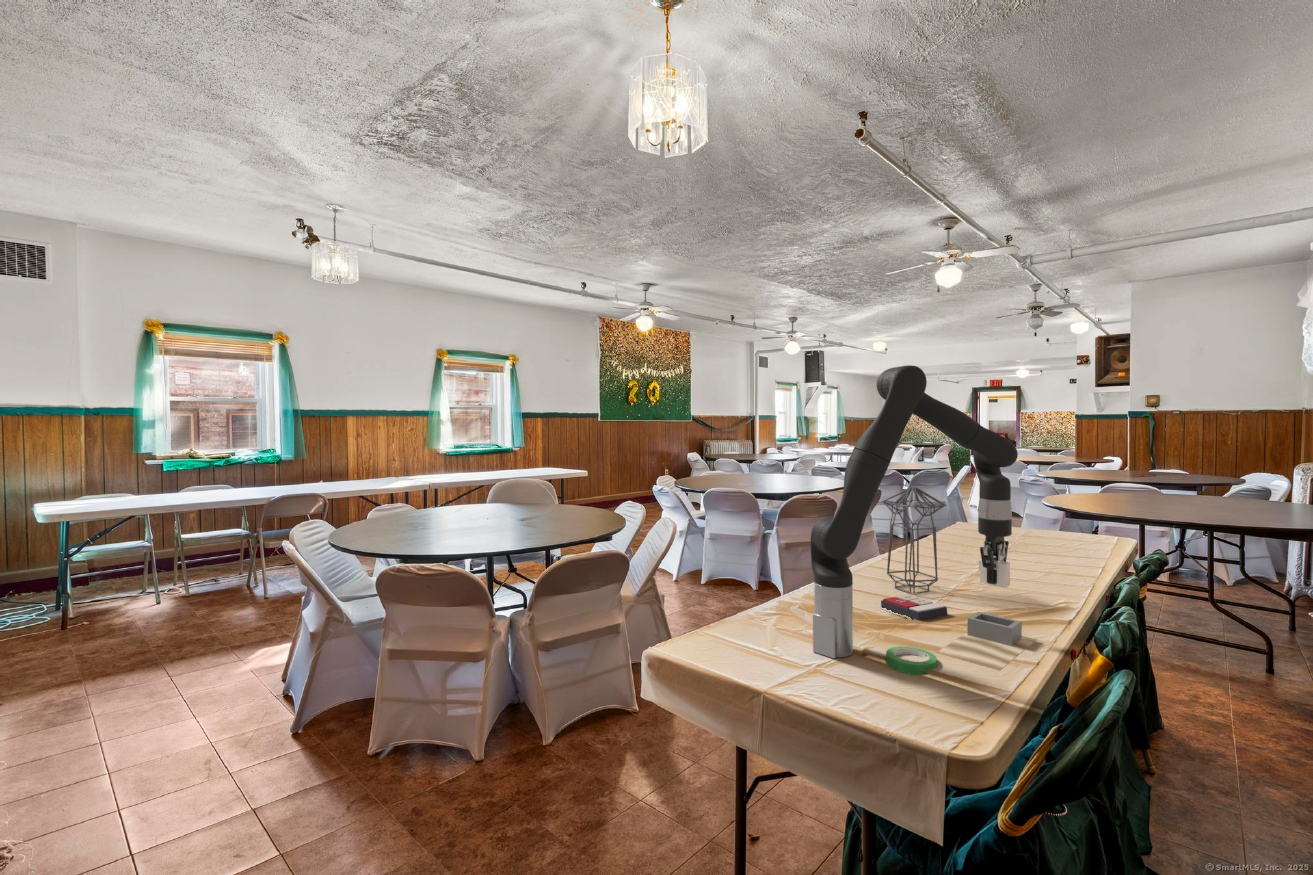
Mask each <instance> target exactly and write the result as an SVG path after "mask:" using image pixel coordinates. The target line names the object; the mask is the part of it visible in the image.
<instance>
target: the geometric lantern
mask: <svg viewBox="0 0 1313 875" xmlns="http://www.w3.org/2000/svg"><path fill="white" fill-rule="evenodd" d="M897 496H900V497H898V498H896V497H897ZM913 496H914V498H913ZM893 498H896V500H895V501H893V500H892V501H890V500H891V499H893ZM929 498H930V499H931V500H933V501H934V502H937V503H933V502H932V501H931V500H930V499H929ZM908 499H909V500H908ZM920 499H921V500H922V501H921V500H920ZM913 502H914V505H913V506H912V505H911V504H912V503H913ZM916 502H917V503H918V504H917V505H916ZM881 503H883V504H884V505H885V506H886V507H887V509H888V510H890V512H891V518H890V522H889V536H888V537H889V538H888V551H887V552H888V554H887V568H886V570H887V571H886V575H887V576H889V578H891V580H892V581H893V582H894V589H895V590H898V589H900V590H899V591H901V590H902V591H901V592H904V591H905V592H904V593H906V594H909V593H917V594H922V593H928V592H930V586H932V585H933V584H935V583H937V582H938V581H939V579H938V557H937V555H938V552H937V526H935V524H934V519H933V515H934V514H935V513H936V512H938V511H939V510H941V509H943V508H944V507H947V504H946V503H944V502H942V501H940V500H939V499H937V498H935V497H934V496H932V495H930V494H929V493H927V492H925V491H924V490H922V489H920V488H919V487H916V486H915V487H914V486H910V487H909V488H907V489H905V490H903V491H900V492H898V493H897V494H894V495H892V496H890V497H888V498H885V499H883V500H882V501H881ZM906 503H907V504H906ZM924 505H926V506H924ZM899 508H901V509H899ZM908 508H914V509H915V510H916V511H917V512H918V513H919V514H920V515H919V517H918V518H917V519H916V520H915V522H913V521H912V520H911V519H910V517H909V516H908V514H907V513H906V512H905V510H907V509H908ZM919 508H920V509H922V512H921V511H920V510H919ZM932 509H933V511H932ZM894 510H895V511H894ZM901 513H904V514H905V516H906V517H907V518H908V520H909V521H910V522H906V521H905V519H904V518H903V516H902V514H901ZM927 513H928V514H927ZM896 515H899V517H900V519H901V521H902V522H897V523H895V520H896ZM928 516H929V517H930V520H931V525H928V524H923V523H921V522H922V520H924V518H925V517H928ZM910 524H911V527H909V526H908V525H910ZM900 525H904V526H900ZM915 525H916V528H914V526H915ZM920 526H923V528H919V527H920ZM894 527H897V528H901V529H905V530H906V533H905V553H904V554H905V556H904V557H905V558H904V570H896V571H895V570H894V571H890V567H891V566H890V565H891V556H892V555H891V554H892V545H893V537H894V536H893V534H894ZM926 527H927V528H926ZM909 530H911V531H910V532H911V534H910V547H909V549H910V550H909V561H908V544H909V543H908V541H909ZM919 530H932V540H933V541H932V542H933V556H934V558H933V559H934V572H935V575H931V574H928V573H925V572H921V571H920V568H919V567H920V559H919V558H920V556H919V555H920V554H919V553H920V552H919V551H920V542H919V541H920V536H919V534H920V531H919ZM914 531H916V560H915V532H914ZM915 561H916V563H915ZM908 562H909V563H908ZM915 564H916V565H915ZM908 565H909V566H908ZM911 566H912V569H911ZM915 568H916V569H915ZM896 573H897V574H899V573H904V578H901V577H899V576H897V575H894V574H896ZM911 573H912V576H913V577H911ZM907 574H909V578H907ZM918 574H920V575H923V576H927V577H929V578H931V579H916V578H917V577H918V576H917V575H918ZM912 578H913V579H912ZM932 578H933V579H932ZM896 579H898V580H896ZM902 582H906V584H905V583H902ZM927 582H929V583H927ZM916 583H919V584H923V585H916ZM897 584H899V585H897ZM902 587H908V588H909V591H907V590H904V589H901V588H902ZM924 587H927V588H924ZM915 588H919V589H923V591H916V590H915ZM912 589H913V591H912ZM915 591H916V592H915Z"/></svg>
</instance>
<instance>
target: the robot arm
mask: <svg viewBox="0 0 1313 875" xmlns="http://www.w3.org/2000/svg"><path fill="white" fill-rule="evenodd" d="M927 382H928V381H927V376H926V374H925V372H924V371H923V369H922V368H920V367H919V366H916V365H913V364H912V365H909V364H908V365H902V366H895V367H891V368H888V369H886V370H884V371H883V372H881V373H880V374H879V375H878V377H877V380H876V390H877V392H878V393H877V394H879V395H880V397H881V398H882V399H883V400H884V403H883V406H882V408H881V411H880V412H879V414H878V415H877V417H875V419H874V420H873V422H872V423H871V424H870V425H869V426H868V427H867V428H866V430H865V431H864V432H863V433H862V435H861V436H860V437H859V438H858V440H857V441H856V443H855V445H854V447H853V449H852V451H851V454H850V456H849V458H848V460H847V463H846V466H845V471H844V478H843V489H842V497H841V500H840V503H839V506H838V508H837V510H836V512H835V514H834V516H833V517H823V518H821V519H819V520H817V521H816V522H815V523H814V525H813V526H812V529H811V532H810V563H811V570H812V573H813V577H814V578H813V579H814V580H813V581H814V582H813V584H814V595H813V597H814V598H813V600H814V601H813V602H814V603H813V605H814V607H813V609H814V613H813V614H812V652H813V653H817V654H820V655H823V656H826V657H829V658H831V659H837V658H846V657H849V656H851V655H853V653H854V652H853V651H854V650H853V647H854V646H853V644H854V640H853V639H854V637H853V635H854V634H853V633H854V632H853V630H854V628H853V627H854V624H853V622H854V621H853V617H854V616H853V615H854V614H853V605H854V604H853V602H854V600H853V588H854V587H853V584H854V582H853V578H854V577H853V573H852V571H851V570H850V567H849V565H848V561H847V558H849V557H850V556H851V555H852V554H853V553H854V552H855V551H856V548H857V546H858V544H859V542H860V540H861V539H860V538H861V535H862V532H863V529H864V526H865V523H866V519H867V516H868V513H869V512H870V511H869V510H870V508H871V506H872V505H873V502H874V500H875V497H876V495H877V492H878V490H879V488H880V485H881V483H882V481H883V480H884V477H885V475H886V474H887V470H888V468H889V466H890V465H891V464H890V463H891V460H892V459H893V456H894V454H895V451H896V449H897V447H898V445H899V443H900V441H901V438H902V436H903V433H904V431H905V428H906V427H907V424H908V423H909V421H910V419H911V418H912V415H914V416H916V417H918V418H920V419H921V420H923V421H925V422H926V423H927V424H929V425H931V427H934V428H935V429H936V430H938V431H940V432H941V433H943V435H945V436H946V437H948V438H949V439H950V440H952V441H953V442H955V444H958V445H959V446H960V447H962V448H964V449H967V450H971V451H973V454H972V455H973V464H974V469H975V472H976V475H977V478H978V482H979V487H978V488H979V493H978V496H979V499H978V506H977V508H978V509H977V514H978V515H977V518H978V519H977V524H978V526H977V532H978V533H979V534H980V535H983V536H985V538H984V539H985V540H984V541H983V546H980V548H979V552H980V558H981V560H982V564H983V567H985V568H986V569H987V583H989V584H996V583H997V563H998V561H1004V562H1007V558H1008V550H1009V544H1010V543H1009V541H1008V540H1005V537H1010V536H1012V534H1013V533H1012V531H1013V530H1012V528H1013V527H1012V523H1013V522H1012V520H1013V516H1012V515H1013V514H1012V513H1013V511H1012V510H1013V509H1012V500H1011V498H1012V496H1011V495H1012V489H1011V488H1012V487H1011V481H1010V479H1009V477H1007V476H1004V474H1002V471H1001V468H1007V467H1008V468H1009V467H1010V466H1012V465H1014V464H1015V463H1016V461H1017V460H1018V456H1019V455H1018V449H1017V447H1016V446H1015V444H1014V443H1013V442H1012V441H1011V440H1009V439H1008V438H1006V437H1005V436H1003V435H1001V434H998V433H997V432H995V431H992V430H990V429H988V428H986V427H984V426H982V425H981V424H980V423H979V422H978V421H976V420H975V419H973V418H972V417H971V416H969V415H968V414H966V413H965V412H963V411H962V410H960V409H957V408H955V407H953V406H951V405H949V404H947V403H944V402H942V401H940V400H938V399H936V398H934V397H932V396H930V395H929V394H928V393H926V389H927V384H928V383H927ZM989 561H990V563H989Z"/></svg>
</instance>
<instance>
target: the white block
mask: <svg viewBox="0 0 1313 875" xmlns="http://www.w3.org/2000/svg"><path fill="white" fill-rule="evenodd" d="M978 561H979V566H978V570H979V584H983V585H986V586H987V585H989V586H993V587H997V588H998V587H999V588H1004V589H1006V588H1007V587H1010V586H1011V585H1010V584H1011V573H1010V572H1011V562H1010V561H1006V562H1004V561H998V563H997V583H996V584H989V583H987V569H986V568H985V567H983V564H982V559H980V560H978ZM989 563H990V561H989Z"/></svg>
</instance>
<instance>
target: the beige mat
mask: <svg viewBox="0 0 1313 875" xmlns="http://www.w3.org/2000/svg"><path fill="white" fill-rule="evenodd" d="M1036 641H1037V638H1034V637H1033V638H1032V637H1028V636H1024V635H1022V639H1021V640H1019V641H1018V642H1017V643H1015V644H1014V645H1013V646H1008V645H1004V644H1000V643H996V642H992V641H989V640H985V639H981V638H977V637H973V636H969V635H967V632H965V633H964V634H962V635H961V636H960V637H958V638H956V639H955V640H953V641H952V642H950V643H949V644H947V645H945V646H944V647H942V648H941V649H939V650H938V651H936V652H935V653H936V654H940V655H944V656H947V657H950V658H954V659H958V660H961V661H965V662H968V663H972V664H976V665H978V666H981V667H985V668H988V669H992V670H996V671H998V672H999V671H1001V670H1002V669H1003V668H1004V667H1005V666H1007V665H1008V664H1009V663H1011V662H1012V661H1013V660H1014V659H1015V658H1016V657H1018V656H1019V655H1020V654H1021V653H1022V652H1023V651H1025V650H1026V649H1027V648H1028V647H1030V646H1031V645H1033V643H1034V642H1036Z"/></svg>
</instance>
